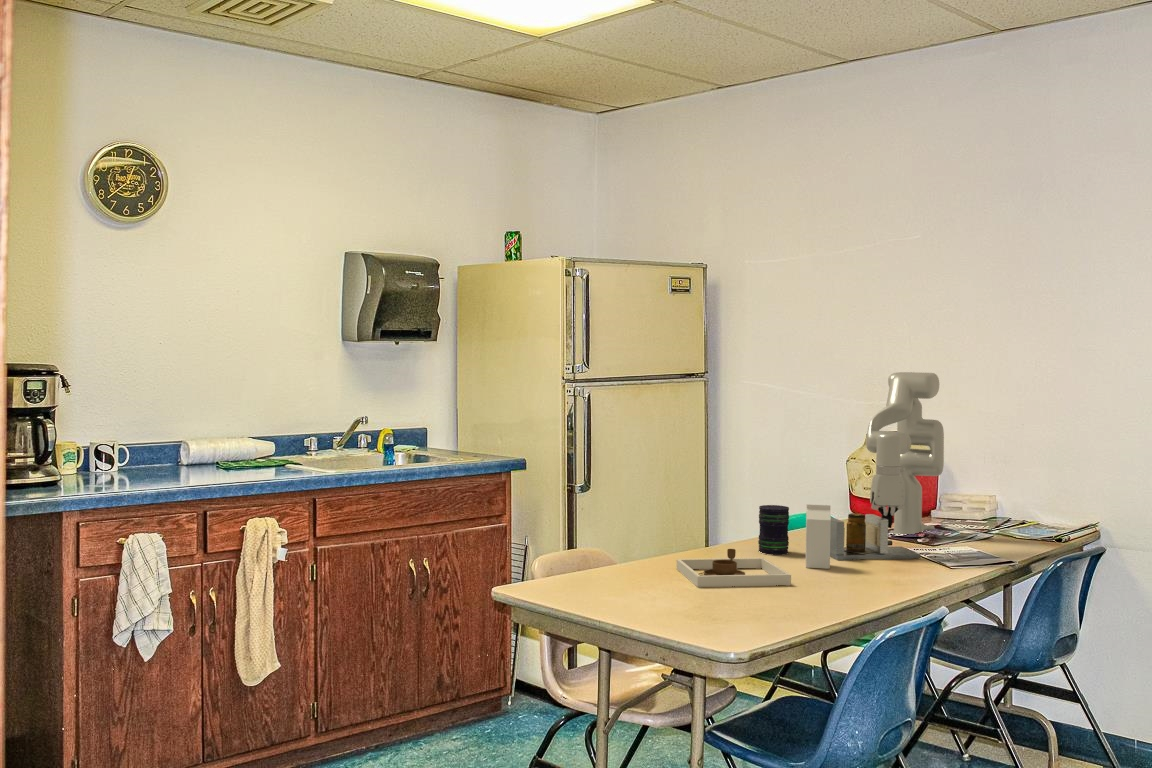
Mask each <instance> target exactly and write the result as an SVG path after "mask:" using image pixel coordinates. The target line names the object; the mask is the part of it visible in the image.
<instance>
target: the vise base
mask: <svg viewBox="0 0 1152 768" xmlns="http://www.w3.org/2000/svg"><path fill="white" fill-rule="evenodd" d="M845 529H846V527H845V522H844V521H843V520H840V519H838V518H835V517H832V516H831V526H830V558H833V559H834V560H836V561H857V560H856V559H886V560H914V559H913V558H921V557H922V556H921V555H922V554H921V553H919V552H916V551H914V550H911V549H909V548H907V547H903V546H888V553H878V552H876V551H874V550H871V549H869V548H867V547H865V550H869V551H874V552H871V553H865V554H861V553H854V552H847V551H844V549H847V548H846V546H845V542H846V541H845V540H846V538H845V533H846V532H845ZM852 559H853V560H852Z"/></svg>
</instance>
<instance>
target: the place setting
mask: <svg viewBox="0 0 1152 768" xmlns="http://www.w3.org/2000/svg"><path fill="white" fill-rule="evenodd" d="M726 553H727V558H729V559H730V560H714V561H713V562H712V568H713V569H704V571H703V572H700V573H698V574H699V575H702V574H703V576H711V575H746V572H744V571H742V570H741V569H737V562H735V561H733V559H734V558H736V549H735V548H728V549H727V551H726Z"/></svg>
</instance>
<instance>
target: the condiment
mask: <svg viewBox="0 0 1152 768" xmlns="http://www.w3.org/2000/svg"><path fill="white" fill-rule="evenodd" d="M847 517H848V518H847V523H846V532H845V533H846V538H845V540H846V541H845V543H846V544H845V547H846V548H847V549H844V551H847V552H854V553H861V554H865V553H871V552H874V551H869V550H865V544H866V543H865V542H866V523H865V514H863V513H856V512H855V513H854V512H853V513H848V515H847Z"/></svg>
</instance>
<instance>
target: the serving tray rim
mask: <svg viewBox="0 0 1152 768" xmlns="http://www.w3.org/2000/svg"><path fill="white" fill-rule="evenodd" d="M714 560H730V559H729V558H728V557H727V558H680V559H679V558H676V570H677V571H678V572H679V571H680V572H681V573H680V572H679V573H680V574H682V575H683V576H684V577H685V578H686V579H687V580H688V581H690V582H691V583H692V584H693V585H694V586H695V587H697V588H719V587H720V588H725V587H726V588H727V587H730V588H731V587H732V586H733V587H734V586H735V587H767V586H768V587H771V586H773V587H777V586H778V585H786V586H791V585H792V574H791V573H789V572H788V571H786V570H784V569H783V568H781V567H779V566H778V565H776V564H774V563H773V562H770V561H769V560H767V559H765V558H764V557H746V558H745V557H744V558H743V557H741V558H740V557H739V558H737V557H735V558H734V559H733V561H735V562H737V568H756V569H761V568H762V569H761V570H763V569H764V570H765V571H764V570H763V571H764V572H765V573H767V572H768V573H767V574H745V575H711V576H704V575H701V574H699V573H698V572H696V571H695V570H693V569H699V570H708V569H713V568H712V562H713V561H714ZM776 585H777V586H776Z"/></svg>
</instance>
